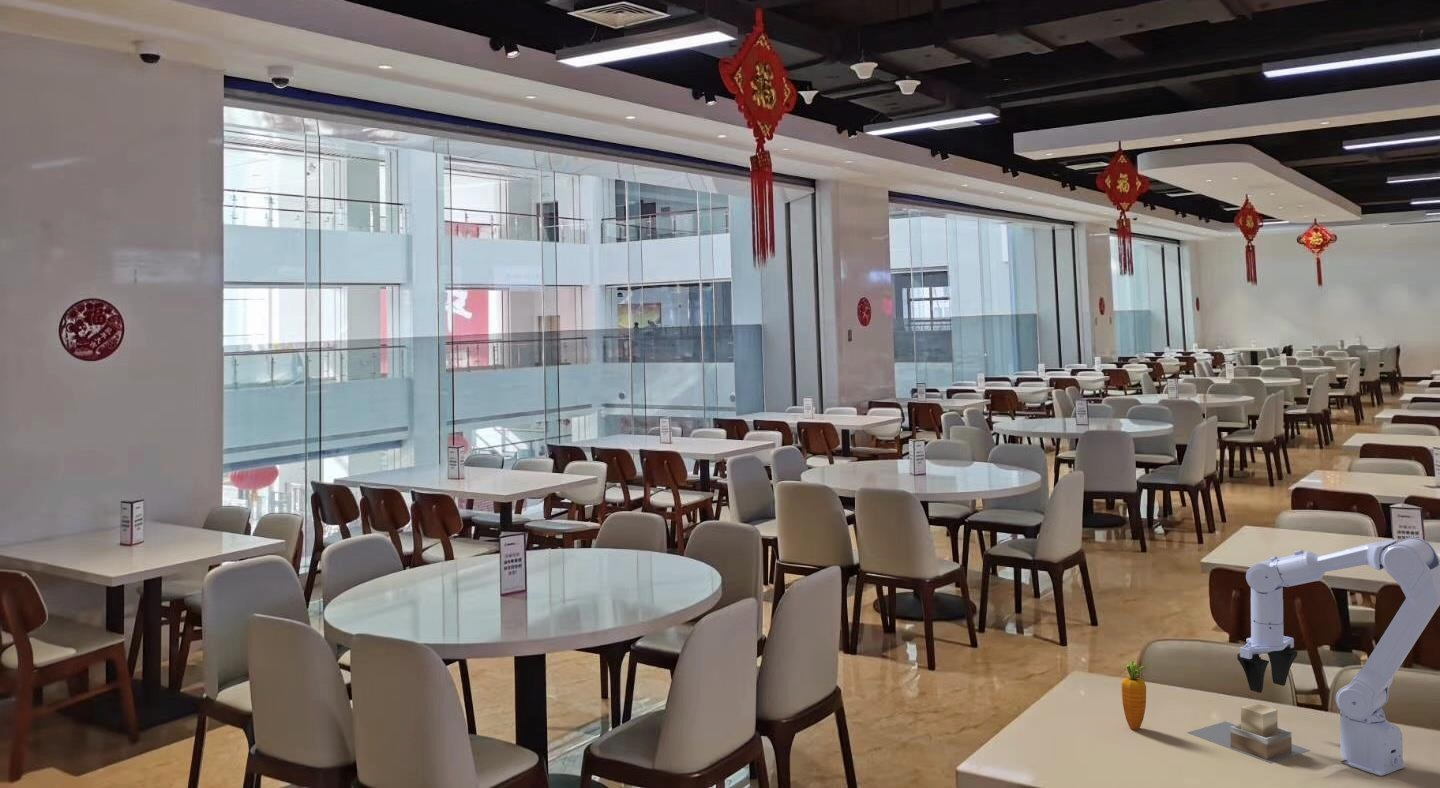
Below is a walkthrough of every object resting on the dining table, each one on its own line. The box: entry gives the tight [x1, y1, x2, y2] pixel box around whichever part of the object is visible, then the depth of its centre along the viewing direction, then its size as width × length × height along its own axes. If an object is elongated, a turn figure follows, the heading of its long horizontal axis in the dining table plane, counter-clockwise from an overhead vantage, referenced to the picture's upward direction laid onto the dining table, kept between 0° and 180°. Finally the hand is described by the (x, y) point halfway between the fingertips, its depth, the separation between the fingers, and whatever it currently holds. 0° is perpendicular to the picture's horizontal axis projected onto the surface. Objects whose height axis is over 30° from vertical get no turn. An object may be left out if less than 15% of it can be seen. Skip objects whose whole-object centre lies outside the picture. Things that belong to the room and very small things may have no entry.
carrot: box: [1120, 661, 1147, 731], centre depth 205 cm, size 5×5×15 cm
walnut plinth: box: [1230, 723, 1293, 760], centre depth 192 cm, size 8×8×4 cm
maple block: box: [1240, 702, 1279, 738], centre depth 192 cm, size 4×4×5 cm
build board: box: [1186, 721, 1311, 764], centre depth 197 cm, size 18×12×1 cm, turn 27°
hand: (1267, 687), depth 200 cm, fingers open, 7 cm apart
